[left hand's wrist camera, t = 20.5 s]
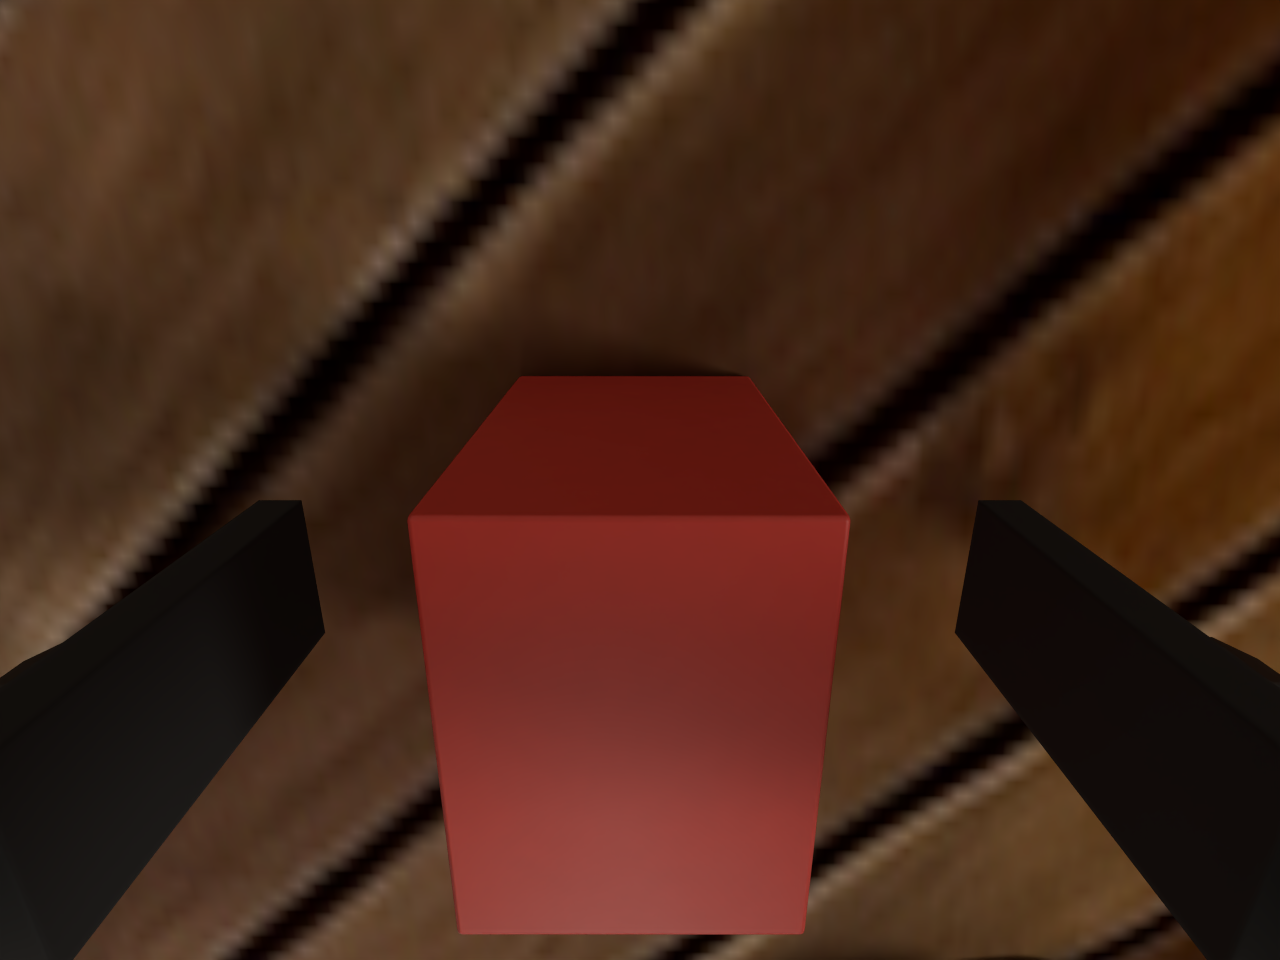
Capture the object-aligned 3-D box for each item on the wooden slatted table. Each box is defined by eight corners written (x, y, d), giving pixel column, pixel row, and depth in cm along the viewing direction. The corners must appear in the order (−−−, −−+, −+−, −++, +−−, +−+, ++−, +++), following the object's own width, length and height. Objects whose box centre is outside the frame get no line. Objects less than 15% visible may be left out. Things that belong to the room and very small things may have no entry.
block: (749, 375, 14) (852, 516, 7) (735, 636, 16) (805, 937, 9) (518, 375, 14) (404, 516, 7) (534, 635, 16) (456, 937, 9)
